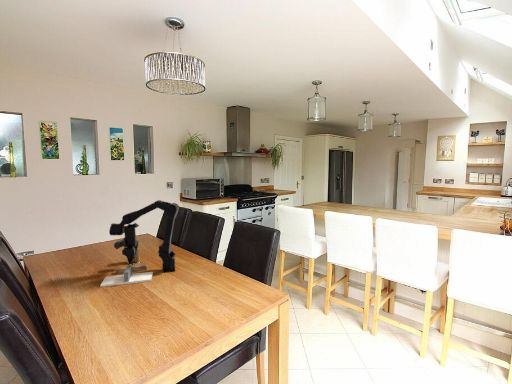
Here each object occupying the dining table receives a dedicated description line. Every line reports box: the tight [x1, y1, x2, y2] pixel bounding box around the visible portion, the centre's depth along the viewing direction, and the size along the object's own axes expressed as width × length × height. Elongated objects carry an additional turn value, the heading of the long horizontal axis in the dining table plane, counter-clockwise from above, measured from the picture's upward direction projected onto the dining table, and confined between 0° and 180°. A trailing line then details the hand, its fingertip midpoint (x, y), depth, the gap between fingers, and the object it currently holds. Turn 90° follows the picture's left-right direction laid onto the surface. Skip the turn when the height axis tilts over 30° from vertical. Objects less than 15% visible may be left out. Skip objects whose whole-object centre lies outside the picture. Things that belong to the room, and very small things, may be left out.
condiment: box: [126, 247, 141, 266], centre depth 174 cm, size 7×8×12 cm
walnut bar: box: [115, 263, 148, 275], centre depth 160 cm, size 16×3×3 cm, turn 112°
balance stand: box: [99, 265, 154, 288], centre depth 148 cm, size 24×11×6 cm, turn 106°
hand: (131, 261), depth 159 cm, fingers open, 9 cm apart
